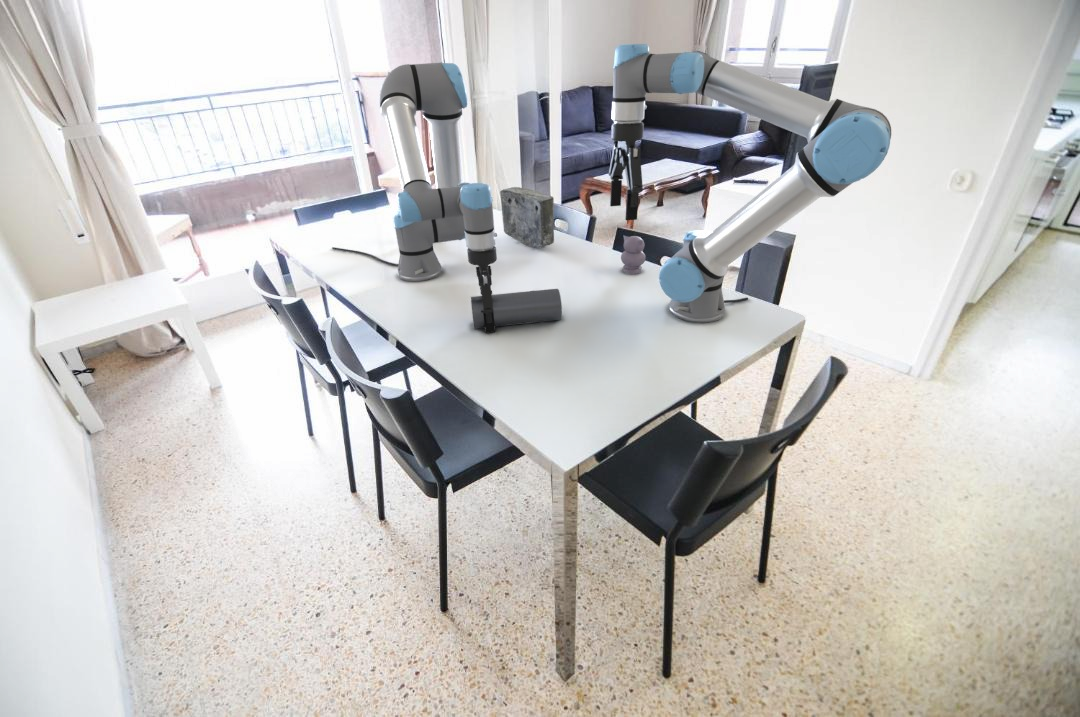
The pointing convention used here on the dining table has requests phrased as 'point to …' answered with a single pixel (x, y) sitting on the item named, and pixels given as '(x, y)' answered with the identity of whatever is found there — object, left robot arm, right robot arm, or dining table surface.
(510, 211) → the concrete block
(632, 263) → the cat figurine
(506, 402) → the dining table surface
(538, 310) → the rod
